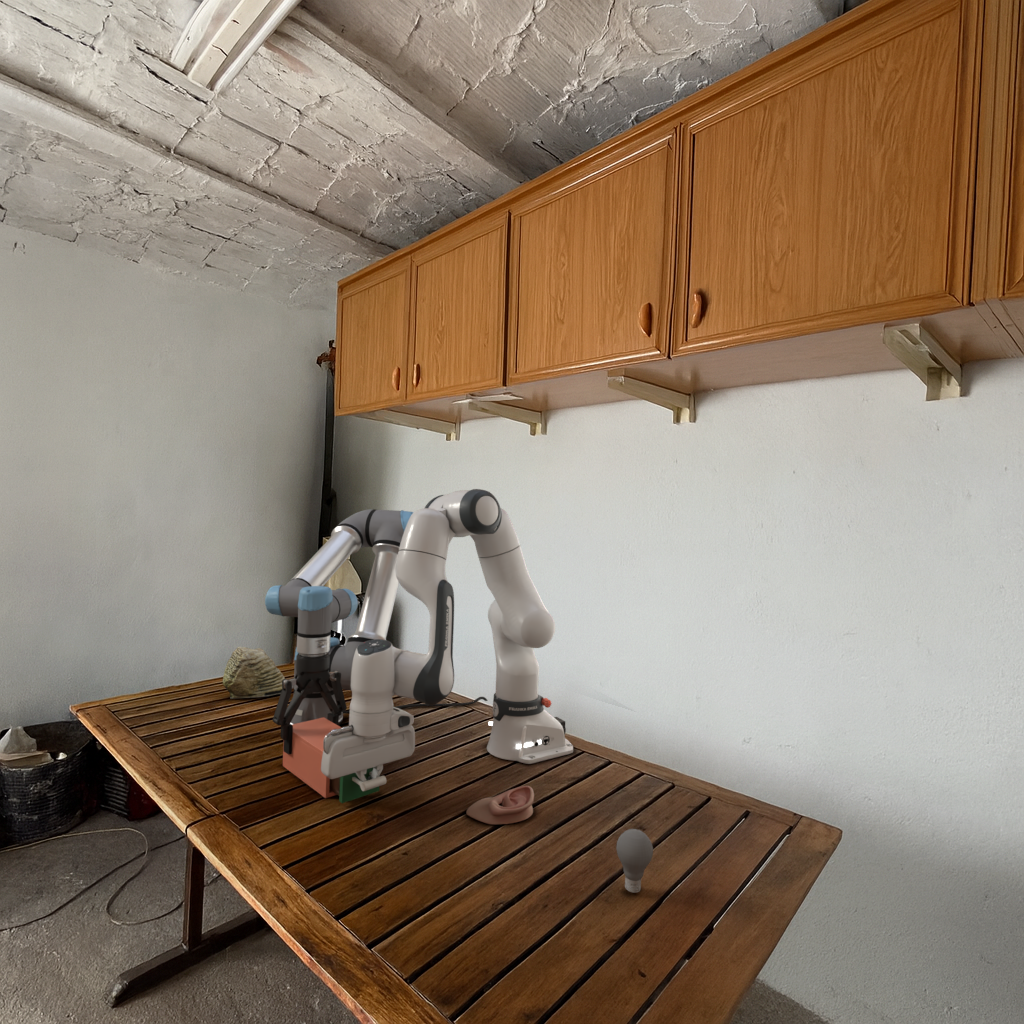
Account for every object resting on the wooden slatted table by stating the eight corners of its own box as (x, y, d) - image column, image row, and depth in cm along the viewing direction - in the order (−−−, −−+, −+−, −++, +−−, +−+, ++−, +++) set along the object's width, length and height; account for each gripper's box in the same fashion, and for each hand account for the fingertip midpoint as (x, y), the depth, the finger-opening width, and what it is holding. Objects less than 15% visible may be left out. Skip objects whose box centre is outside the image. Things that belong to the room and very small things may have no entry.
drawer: (393, 800, 132) (394, 764, 132) (355, 813, 126) (357, 776, 125) (334, 761, 150) (335, 729, 149) (298, 771, 143) (299, 738, 143)
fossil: (218, 695, 195) (220, 647, 195) (278, 685, 208) (279, 640, 207) (228, 703, 189) (230, 653, 188) (289, 692, 201) (290, 645, 201)
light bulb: (610, 879, 108) (613, 822, 108) (644, 879, 109) (647, 822, 109) (619, 902, 102) (622, 840, 102) (655, 901, 103) (658, 840, 103)
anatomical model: (462, 800, 126) (477, 776, 137) (461, 820, 126) (476, 794, 137) (528, 810, 123) (537, 784, 135) (527, 830, 123) (536, 803, 135)
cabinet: (367, 784, 140) (368, 743, 140) (325, 798, 133) (327, 754, 133) (322, 755, 155) (323, 717, 155) (282, 766, 148) (284, 726, 148)
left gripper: (273, 663, 138) (269, 764, 138) (364, 649, 154) (360, 740, 154) (258, 656, 143) (255, 753, 144) (348, 643, 159) (344, 731, 160)
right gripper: (331, 736, 121) (329, 808, 121) (420, 715, 135) (417, 779, 135) (316, 727, 125) (314, 796, 126) (403, 707, 139) (401, 769, 140)
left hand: (309, 746), depth 149 cm, fingers closed on cabinet, 10 cm apart
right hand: (368, 787), depth 130 cm, fingers closed, pressing on drawer
